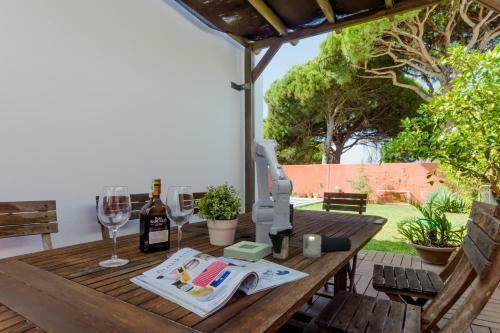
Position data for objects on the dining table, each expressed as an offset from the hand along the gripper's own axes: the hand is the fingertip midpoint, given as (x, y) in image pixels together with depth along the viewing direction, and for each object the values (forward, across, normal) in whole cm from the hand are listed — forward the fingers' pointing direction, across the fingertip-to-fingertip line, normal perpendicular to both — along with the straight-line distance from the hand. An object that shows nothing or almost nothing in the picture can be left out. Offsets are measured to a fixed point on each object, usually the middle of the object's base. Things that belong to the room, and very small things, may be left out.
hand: (280, 251), depth 107 cm
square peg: (+2, 0, 0) cm, 2 cm away
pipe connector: (+2, +21, -11) cm, 24 cm away
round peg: (+2, +8, -9) cm, 12 cm away
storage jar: (+2, +35, +13) cm, 37 cm away
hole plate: (+2, -4, +11) cm, 12 cm away
